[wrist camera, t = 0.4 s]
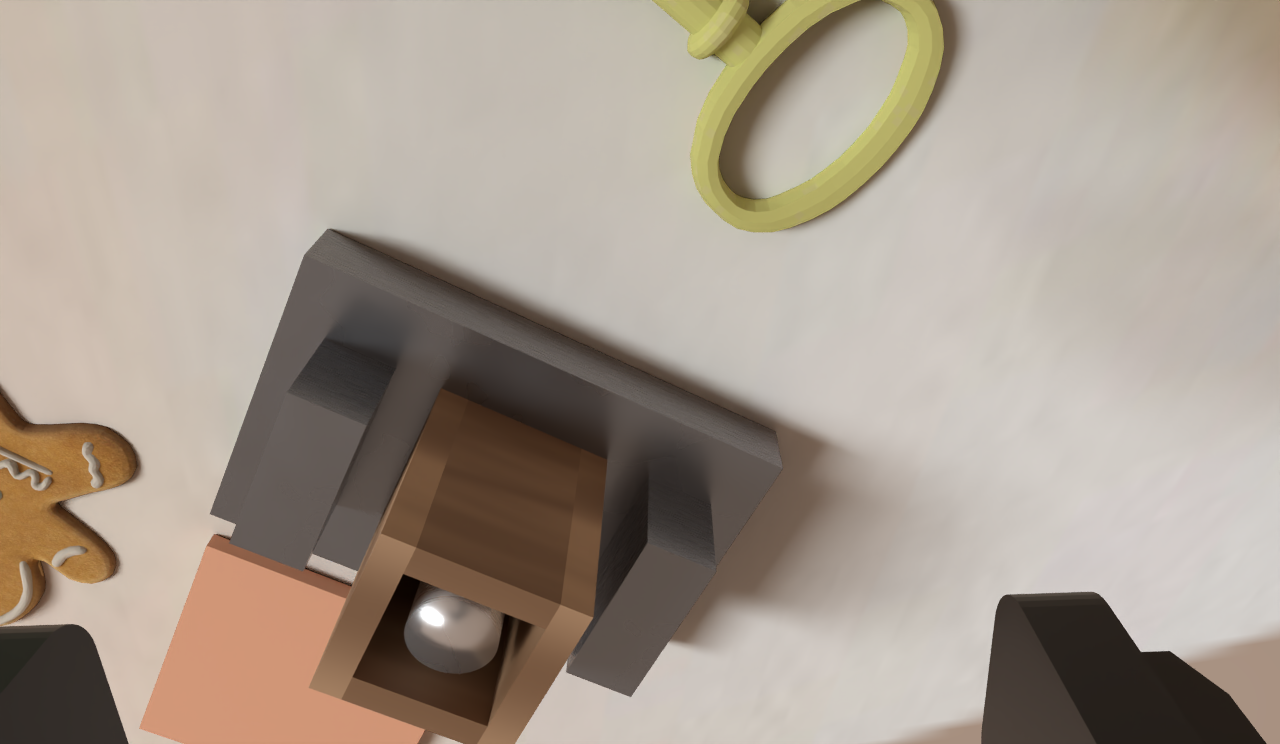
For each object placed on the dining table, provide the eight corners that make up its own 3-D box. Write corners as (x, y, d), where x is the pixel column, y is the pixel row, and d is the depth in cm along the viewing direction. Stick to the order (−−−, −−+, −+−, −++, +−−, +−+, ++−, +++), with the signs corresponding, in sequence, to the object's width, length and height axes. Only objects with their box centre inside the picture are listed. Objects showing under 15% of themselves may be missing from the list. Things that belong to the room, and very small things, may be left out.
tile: (214, 534, 32) (206, 545, 31) (474, 634, 34) (471, 646, 33) (146, 715, 36) (139, 728, 35) (384, 796, 37) (380, 810, 37)
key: (493, -205, 23) (478, -211, 21) (971, 3, 24) (997, 15, 23) (411, 94, 26) (391, 114, 24) (840, 258, 28) (853, 287, 26)
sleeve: (441, 388, 27) (380, 533, 21) (607, 459, 28) (593, 617, 22) (378, 522, 29) (308, 687, 23) (535, 584, 30) (505, 758, 24)
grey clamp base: (327, 228, 27) (208, 361, 20) (775, 431, 30) (811, 613, 23) (235, 476, 31) (107, 661, 24) (640, 635, 33) (634, 846, 26)
